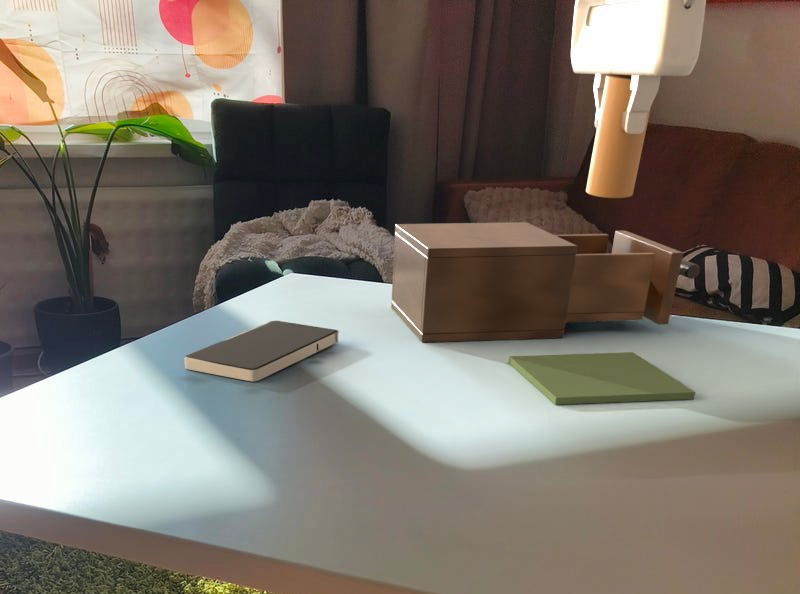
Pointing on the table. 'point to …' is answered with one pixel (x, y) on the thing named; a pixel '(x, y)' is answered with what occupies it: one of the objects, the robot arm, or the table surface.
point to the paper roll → (615, 144)
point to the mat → (599, 378)
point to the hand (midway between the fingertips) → (617, 131)
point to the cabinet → (481, 281)
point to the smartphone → (261, 350)
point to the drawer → (624, 278)
